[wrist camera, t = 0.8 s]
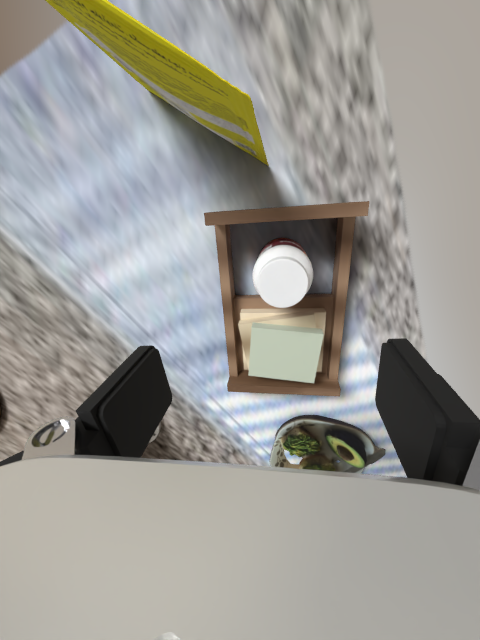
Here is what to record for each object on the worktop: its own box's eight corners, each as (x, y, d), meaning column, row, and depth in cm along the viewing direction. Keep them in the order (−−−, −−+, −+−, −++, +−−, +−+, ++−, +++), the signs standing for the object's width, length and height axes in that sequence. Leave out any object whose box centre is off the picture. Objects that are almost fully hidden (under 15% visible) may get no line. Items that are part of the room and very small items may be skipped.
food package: (271, 161, 29) (256, 84, 11) (265, 171, 29) (243, 114, 11) (149, 84, 27) (-102, -151, 9) (146, 96, 28) (-99, -106, 10)
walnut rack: (332, 374, 39) (343, 406, 33) (233, 371, 41) (225, 401, 35) (349, 202, 29) (369, 201, 23) (219, 211, 32) (204, 212, 25)
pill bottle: (316, 258, 32) (333, 281, 22) (283, 293, 35) (285, 328, 25) (279, 225, 31) (280, 235, 21) (248, 264, 34) (235, 288, 24)
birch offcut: (320, 365, 37) (321, 371, 35) (245, 363, 39) (244, 369, 37) (324, 308, 33) (326, 312, 32) (241, 308, 35) (240, 313, 34)
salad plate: (346, 498, 50) (352, 524, 46) (259, 474, 51) (257, 498, 47) (390, 431, 42) (402, 455, 38) (285, 404, 43) (286, 425, 39)
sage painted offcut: (312, 376, 34) (313, 383, 33) (249, 369, 35) (248, 375, 34) (321, 328, 31) (323, 334, 30) (252, 322, 32) (251, 327, 31)
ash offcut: (318, 363, 35) (320, 369, 34) (250, 369, 37) (249, 375, 36) (313, 310, 32) (314, 314, 31) (239, 319, 34) (238, 324, 33)
